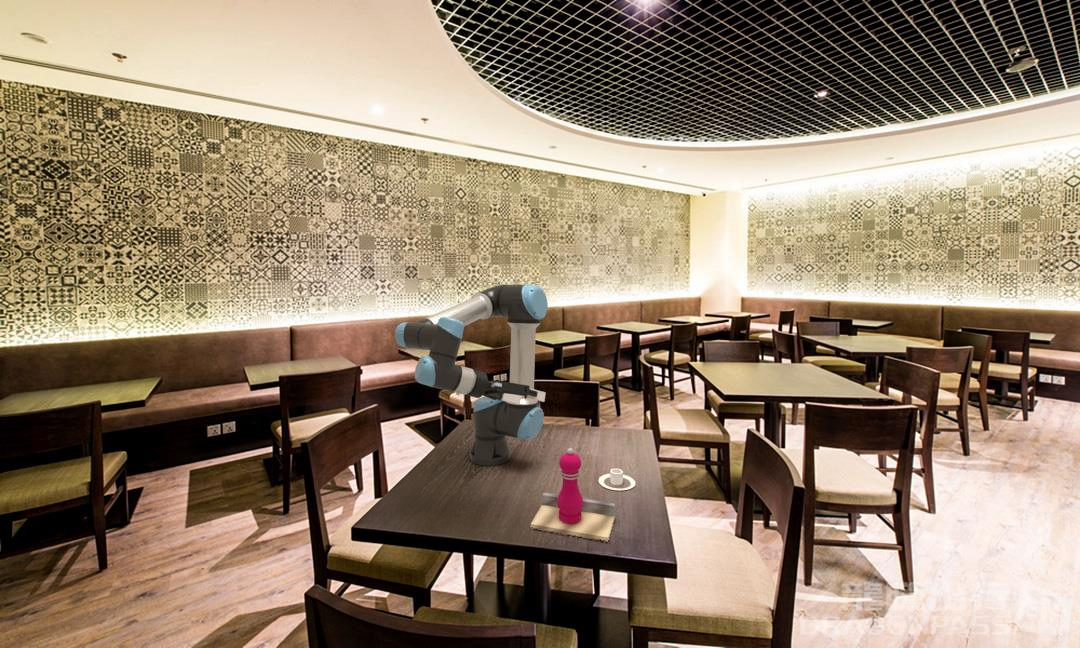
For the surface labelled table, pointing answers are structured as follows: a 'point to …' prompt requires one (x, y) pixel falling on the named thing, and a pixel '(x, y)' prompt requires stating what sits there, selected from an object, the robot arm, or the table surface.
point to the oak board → (592, 523)
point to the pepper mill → (570, 488)
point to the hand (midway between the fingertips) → (532, 399)
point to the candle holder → (616, 479)
